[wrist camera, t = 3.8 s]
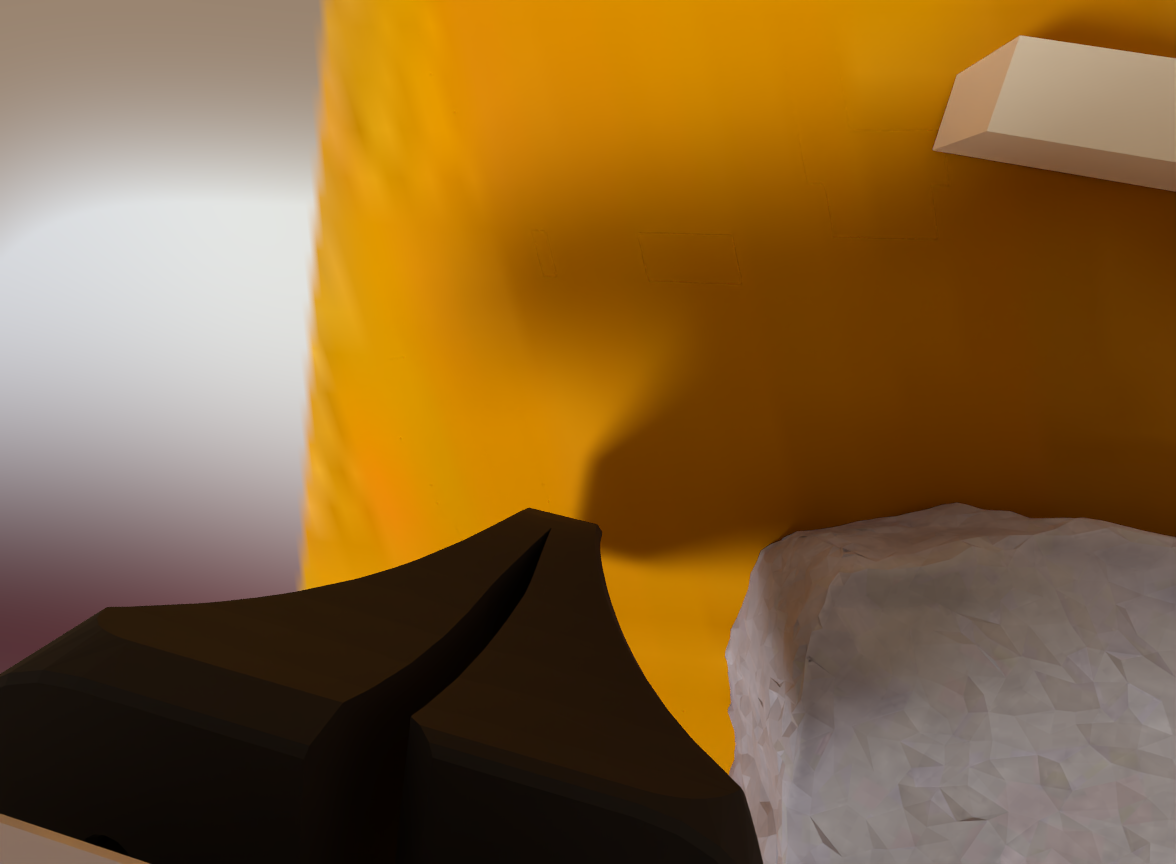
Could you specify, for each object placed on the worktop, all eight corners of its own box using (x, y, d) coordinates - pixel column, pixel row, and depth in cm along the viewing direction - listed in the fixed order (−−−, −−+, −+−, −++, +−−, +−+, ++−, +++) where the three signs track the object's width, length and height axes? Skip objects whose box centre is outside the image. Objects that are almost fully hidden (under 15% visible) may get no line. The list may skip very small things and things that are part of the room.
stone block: (729, 461, 14) (701, 901, 15) (756, 512, 9) (712, 1157, 10) (1384, 500, 12) (1300, 989, 13) (1844, 587, 7) (1657, 1346, 8)
